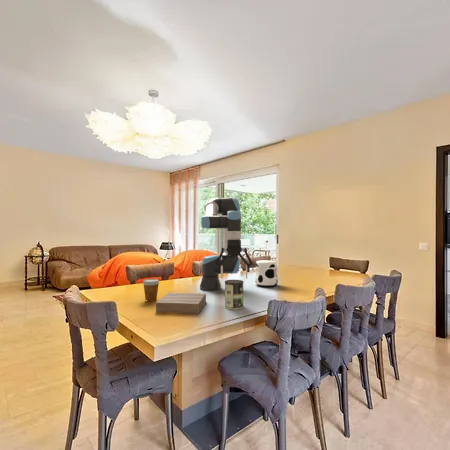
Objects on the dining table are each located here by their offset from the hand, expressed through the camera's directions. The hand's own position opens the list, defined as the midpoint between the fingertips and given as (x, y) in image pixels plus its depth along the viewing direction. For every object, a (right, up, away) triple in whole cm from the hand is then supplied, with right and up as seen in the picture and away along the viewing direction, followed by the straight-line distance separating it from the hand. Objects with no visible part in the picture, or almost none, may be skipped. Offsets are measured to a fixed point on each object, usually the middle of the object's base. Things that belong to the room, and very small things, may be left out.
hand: (234, 278), depth 152 cm
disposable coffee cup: (-49, -16, +13) cm, 53 cm away
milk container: (+26, -17, +57) cm, 65 cm away
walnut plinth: (-28, -16, 0) cm, 32 cm away
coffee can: (0, -16, 0) cm, 16 cm away
